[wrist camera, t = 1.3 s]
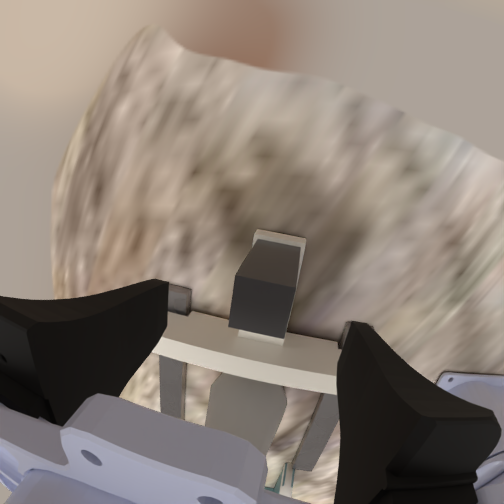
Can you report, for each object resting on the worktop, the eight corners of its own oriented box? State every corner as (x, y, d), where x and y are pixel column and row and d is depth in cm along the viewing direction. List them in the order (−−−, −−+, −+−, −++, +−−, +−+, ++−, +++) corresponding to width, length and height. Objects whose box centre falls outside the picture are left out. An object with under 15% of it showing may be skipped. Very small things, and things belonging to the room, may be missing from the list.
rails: (373, 326, 21) (375, 333, 20) (311, 463, 27) (311, 471, 26) (166, 283, 23) (160, 288, 22) (165, 430, 28) (162, 436, 28)
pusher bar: (396, 254, 19) (436, 308, 12) (359, 363, 22) (371, 439, 15) (170, 210, 21) (105, 240, 14) (164, 320, 24) (114, 379, 16)
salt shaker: (280, 412, 25) (254, 546, 13) (215, 397, 26) (162, 522, 13) (296, 361, 23) (276, 514, 11) (222, 344, 24) (156, 483, 12)
